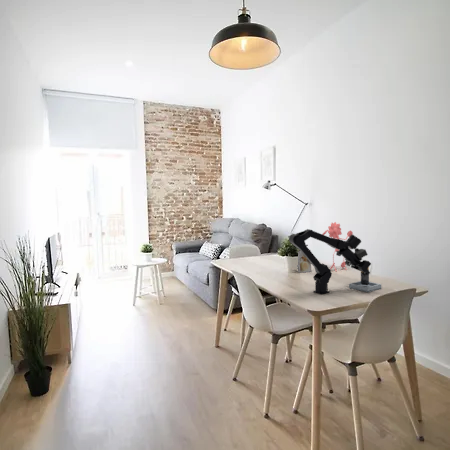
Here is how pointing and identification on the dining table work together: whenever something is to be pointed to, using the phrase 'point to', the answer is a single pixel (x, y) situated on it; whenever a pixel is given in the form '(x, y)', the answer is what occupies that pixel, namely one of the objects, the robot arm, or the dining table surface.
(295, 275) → the dining table surface
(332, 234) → the pink flower sprig
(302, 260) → the coffee box
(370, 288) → the grey tray
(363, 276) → the big battery
